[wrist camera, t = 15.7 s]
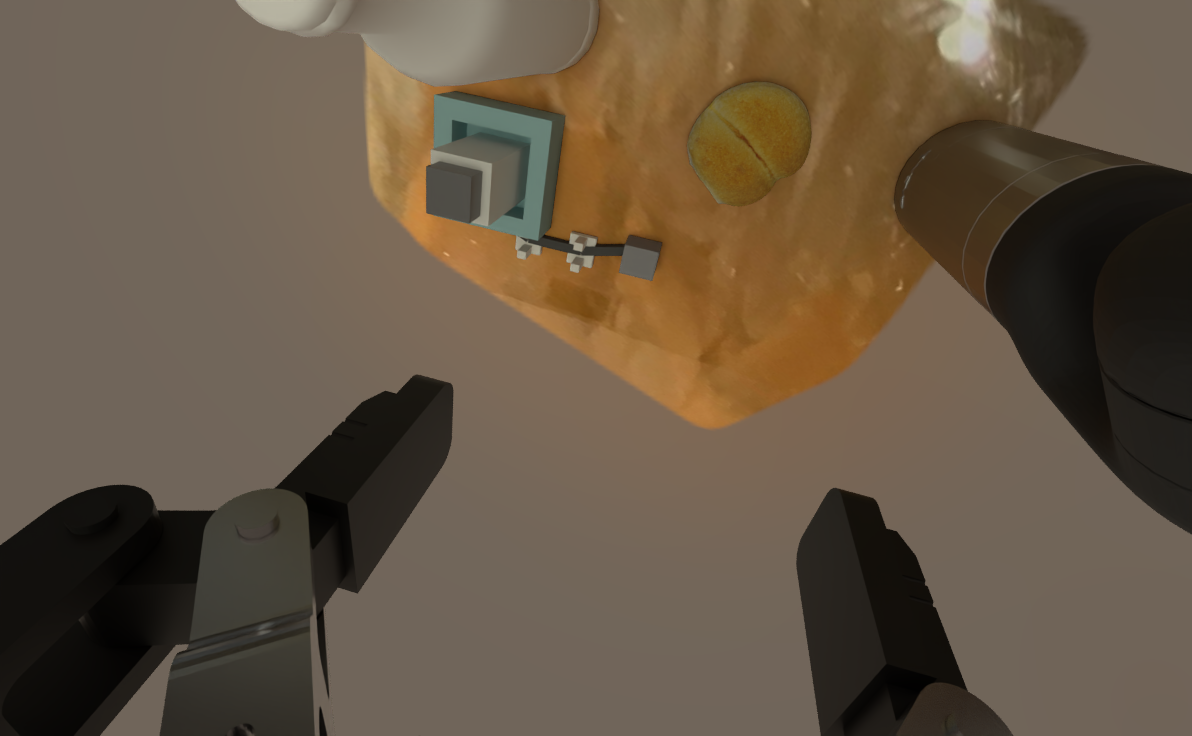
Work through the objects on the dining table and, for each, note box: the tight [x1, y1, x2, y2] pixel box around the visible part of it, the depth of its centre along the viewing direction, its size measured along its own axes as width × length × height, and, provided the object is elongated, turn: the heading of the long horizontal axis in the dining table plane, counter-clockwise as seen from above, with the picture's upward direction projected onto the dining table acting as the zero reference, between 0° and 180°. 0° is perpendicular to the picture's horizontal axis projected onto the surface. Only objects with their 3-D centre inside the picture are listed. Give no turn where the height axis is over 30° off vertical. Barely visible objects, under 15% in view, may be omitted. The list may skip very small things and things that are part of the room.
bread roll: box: [687, 81, 811, 206], centre depth 40 cm, size 8×9×4 cm
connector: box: [426, 132, 531, 226], centre depth 41 cm, size 4×4×11 cm
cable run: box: [515, 231, 662, 281], centre depth 48 cm, size 14×4×3 cm, turn 80°
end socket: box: [434, 91, 565, 241], centre depth 45 cm, size 10×10×4 cm
